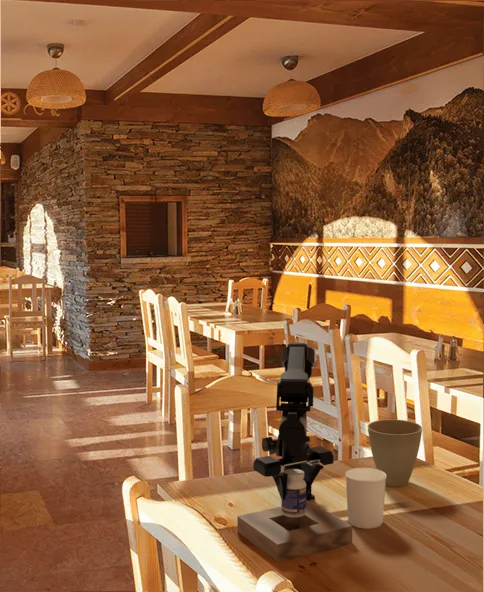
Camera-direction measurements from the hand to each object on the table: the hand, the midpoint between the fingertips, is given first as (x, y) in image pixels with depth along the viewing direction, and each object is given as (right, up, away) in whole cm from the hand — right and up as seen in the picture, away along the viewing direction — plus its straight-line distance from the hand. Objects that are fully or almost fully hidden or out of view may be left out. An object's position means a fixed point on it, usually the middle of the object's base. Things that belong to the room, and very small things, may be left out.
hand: (294, 496), depth 181 cm
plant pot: (+30, -6, +37) cm, 48 cm away
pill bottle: (0, -4, 0) cm, 4 cm away
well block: (0, -10, +1) cm, 10 cm away
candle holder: (+18, -9, +10) cm, 22 cm away
